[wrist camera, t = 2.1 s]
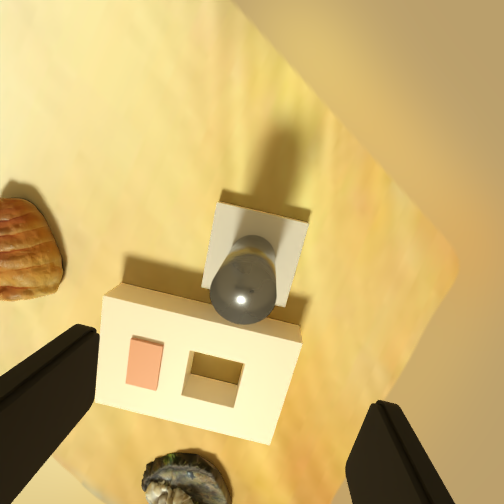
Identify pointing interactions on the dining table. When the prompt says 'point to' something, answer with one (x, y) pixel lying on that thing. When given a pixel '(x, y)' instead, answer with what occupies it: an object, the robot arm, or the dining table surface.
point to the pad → (261, 224)
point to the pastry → (26, 252)
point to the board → (181, 358)
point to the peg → (246, 282)
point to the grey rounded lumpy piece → (184, 481)
